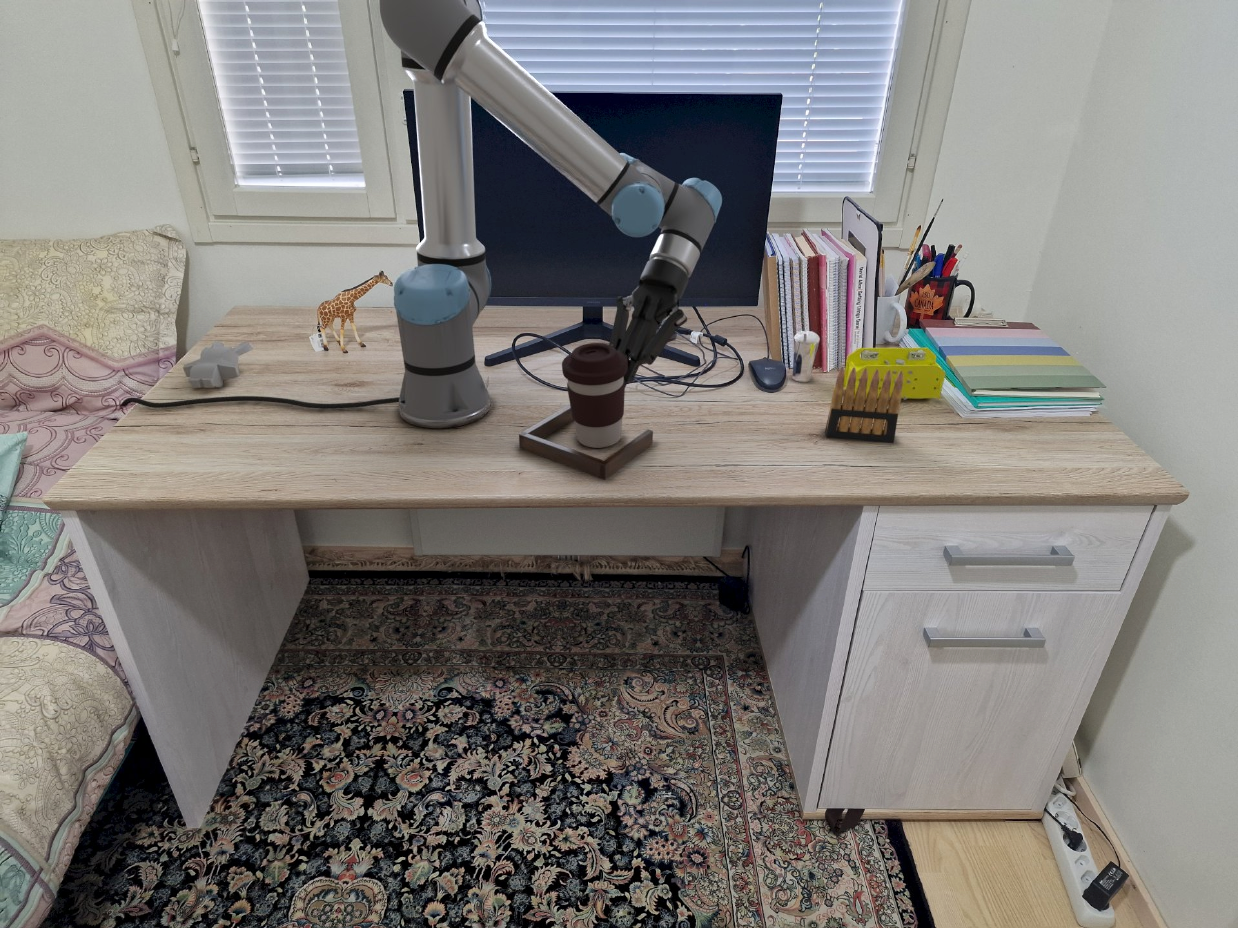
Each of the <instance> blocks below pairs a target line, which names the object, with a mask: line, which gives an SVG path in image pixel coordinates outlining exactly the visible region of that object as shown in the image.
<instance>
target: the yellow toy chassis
mask: <svg viewBox="0 0 1238 928" xmlns="http://www.w3.org/2000/svg"><path fill="white" fill-rule="evenodd" d="M937 357H938V356H937V354H935V353H934V352H933V351H932V350H931V349H930V348H929V347H858V348H857V349H855V350H854V351H852V352H851V353H849V354H848V355H847V356H846V361H845V367H844V372H845V378H844V387H843V388H844V391H845V390H846V387H847V383H848V378H849V375H850V373H851V371H852V369H853V368H855V370H856V383H855V395H856V392H857V389H858V385H859V381H860V378H861V375H862V373H863V371H864V369H865V368H866V369H867V373H868V380H867V388H866V398H867V394H868V391H869V388H870V385H871V380H872V377H873V375H874V373H875V371H876V370H877V369H878V370H879V385H878V397H879V394H880V391H881V388H882V385H883V381H884V378H885V375H886V373H887V372H888V371H889V370H890V371H891V385H890V397H891V394H892V392H893V388H894V385H895V381H896V378H897V376H898V374H899V373H900V371H902V372H903V386H902V392H901V399H903V400H904V401H906V400H908V399H913V400H923V399H940V398H941V395H942V389H943V386H944V381H945V377H946V371H945V370H944V369H943V368H942V367H941V365H940V364H938V362H936V361H937ZM878 397H877V399H878ZM890 397H889V401H890ZM854 400H855V396H854ZM865 401H866V399H865Z"/></svg>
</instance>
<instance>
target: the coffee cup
mask: <svg viewBox="0 0 1238 928" xmlns="http://www.w3.org/2000/svg"><path fill="white" fill-rule="evenodd" d="M561 370H562V375H563V377H564V378H565V379H566V380H567V383H566V387H567V394H568V401H569V405H570V407H571V413H572V418H573V420H572V421H573V423H574V431H575V435H576V436H575V437H576V439H577V441H578V442H579V443H580V444H581V445H583V446H585V447H589V448H594V449H600V448H607V447H610V446H613V445H615V444H617V443H618V442H619V441H620V439H621V438H622V434H623V417H624V414H625V395H626V394H625V392H626V391H625V390H626V387H625V380H624V375H625V374H626V373H627V370H628V361H627V358H626V356H625V355H623V354H622V353H620V352H618V351H616V349H615V348H614V347H612V346H610V345H609V344H608V343H602V342H590V343H589V342H588V343H585V344H581V345H579V346H577V347H575V348H574V349H573V350H572V351H571V353H570V354H568V355H566V357H564V358H563V360H562V362H561Z"/></svg>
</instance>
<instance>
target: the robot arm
mask: <svg viewBox="0 0 1238 928" xmlns="http://www.w3.org/2000/svg"><path fill="white" fill-rule="evenodd" d="M379 15H380V19H381V22H382V25H383V28H384V30H385V31H386V33H387V36H388V37H389V38H390V40H391V42H392V43H393V44H394V45H395V46H396V47H397V48H398V49H399V50H400V60H401V70H403V72H405V73H406V75H407V76H408V77H409V78H410V79H411V80H412V83H413V95H414V96H413V97H414V109H415V122H416V123H415V124H416V135H417V137H416V138H417V152H418V163H419V164H418V165H419V178H420V179H419V180H420V191H421V207H422V219H423V231H424V238H423V239H422V240H421V242H420V243H418V244H417V246H416V249H415V250H416V259H417V260H416V261H417V266H415V267H414V268H410V269H407V270H405V271H404V272H402V273H401V274H400V275H399V276H398V277H397V278H396V279H395V282H394V284H393V305H394V309H395V313H396V319H397V326H398V332H399V333H398V334H399V340H400V346H401V351H402V360H403V366H404V373H403V379H402V383H401V387H400V388H401V389H400V393H399V396H397V397H389V398H388V397H387V398H380V399H372V400H365V401H358V402H357V401H356V402H342V403H341V402H340V403H322V402H321V403H319V402H308V401H301V400H297V399H291V398H285V397H284V398H283V397H275V396H262V395H261V396H260V395H259V396H258V395H234V396H233V395H231V396H230V395H229V396H216V397H205V398H203V397H202V398H194V399H193V398H192V399H185V400H177V401H167V402H152V401H148V400H144V399H142V398H137V397H128V398H125V399H124V400H122V402H121V404H120V406H119V407H123V408H124V407H127V406H128V405H129V404H131V403H132V404H138V405H141V406H144V407H147V408H148V407H149V408H153V409H163V408H164V409H166V408H175V407H176V408H177V407H183V406H184V407H185V406H190V405H192V406H193V405H200V404H201V405H203V404H212V403H213V404H214V403H226V402H263V403H264V402H265V403H275V404H276V403H277V404H285V405H292V406H297V407H302V408H310V409H320V410H321V409H322V410H323V409H325V410H327V409H328V410H329V409H332V410H334V409H353V408H365V407H372V406H379V405H388V404H395V403H396V404H397V403H398V409H399V415H400V417H401V418H402V419H403V420H404V421H405V422H406V423H407V424H410V425H413V426H415V427H420V428H426V429H449V428H456V427H460V426H465V425H468V424H471V423H473V422H476V421H478V420H479V419H481V418H483V417H484V416H485V415H486V414H487V413H488V412H489V410H490V409H491V397H490V392H489V390H488V387H489V385H490V376H489V375H488V377H487V379H486V381H484V379H483V377H482V375H481V373H480V370H479V368H478V366H477V363H476V350H475V341H474V340H475V339H474V331H473V329H474V325H475V323H476V321H477V319H478V318H479V316H480V314H481V312H482V311H483V310H484V309H485V307H486V306H487V304H488V302H489V301H490V299H489V298H490V296H491V293H492V277H491V272H490V270H489V268H488V266H487V262H486V261H487V259H486V258H487V257H486V247H485V246H484V244H482V243H481V241H479V240H478V238H477V234H476V233H477V230H476V229H477V228H476V207H475V205H476V203H475V181H474V158H473V157H474V155H473V127H472V107H471V106H472V104H471V101H472V100H473V101H475V102H476V103H477V104H478V105H479V106H481V108H483V109H484V110H486V112H488V113H489V114H490V115H491V116H493V117H494V118H495V119H496V120H497V121H498V122H500V123H501V124H502V125H503V126H505V128H507V129H508V130H509V131H510V132H512V134H514V135H515V136H516V137H518V138H519V139H520V140H521V141H522V142H523V143H524V144H526V145H527V146H528V147H529V148H531V150H533V151H534V152H535V153H536V154H538V155H539V156H540V157H541V158H542V159H544V160H545V161H546V162H547V163H548V164H549V165H551V166H552V167H553V168H554V169H556V171H558V173H560V174H562V176H564V177H565V178H566V179H567V180H568V181H569V182H571V183H572V184H573V185H574V186H576V187H577V188H578V189H579V190H580V191H581V192H583V193H584V194H585V195H586V196H587V197H588V198H589V199H591V200H592V201H593V202H594V203H595V204H597V205H598V206H599V207H600V208H601V209H602V210H603V211H605V212H606V213H607V214H608V215H609V216H610V217H611V219H612V221H613V222H614V224H615V226H616V228H617V229H618V230H619V231H620V232H621V233H623V234H624V235H626V236H628V237H632V238H643V237H646V236H648V235H650V234H652V233H653V232H655V231H656V230H657V229H658V228H659V229H661V231H660V233H659V235H658V237H657V239H656V241H655V244H654V246H653V248H652V250H651V252H650V255H649V259H648V261H647V262H646V263H645V266H644V268H643V270H642V273H641V275H640V277H639V281H638V285H637V287H636V288H635V289H634V290H633V291H632V292H631V295H628V296H626V297H623V296H621V295H619V296H617V297H616V298H615V304H616V305H615V306H616V312H615V317H614V321H613V326H612V331H611V335H610V339H609V344H608V345H610V346H612V347H614V348H615V349H616V351H618V352H620V353H622V354H623V355H625V356H626V358H627V361H628V370H627V373H626V374H625V375H624V380H625V388H626V387H627V385H628V383H630V384H631V383H632V382H633V381H634V379H635V377H636V374H637V372H638V370H639V368H640V367H641V365H646V364H647V365H648V366H651V365H653V364H654V363H655V361H656V360H657V358H658V357H659V356H660V354H661V353H662V352H663V350H664V348H665V347H666V345H668V343H669V342H670V340H671V339H672V337H673V336H674V334H675V333H676V331H677V330H678V329H679V328H680V327H682V326H683V325H684V324H686V323H687V322H688V317H687V315H686V314H685V312H684V311H683V309H681V308H680V299H681V298H682V297H683V294H684V293H685V291H686V288H687V287H688V283H689V280H690V279H689V278H691V276H692V274H693V272H694V270H695V267H696V265H697V264H698V261H699V259H700V256H701V254H702V252H703V249H704V247H705V245H706V242H707V240H708V239H709V236H710V234H711V232H712V230H713V227H714V225H716V222H717V218H718V216H719V212H720V210H721V207H722V203H723V196H722V194H721V192H720V190H719V189H718V188H717V187H716V186H715V185H714V184H713V183H711V182H710V181H707V180H702V179H700V178H698V177H691V178H688V179H686V180H684V181H683V183H682V184H681V183H677V182H676V181H674V180H672V179H670V178H668V177H667V176H665V175H664V174H662V173H660V172H659V171H657V170H655V169H654V168H652V167H650V166H649V165H647V164H645V163H644V162H642V161H641V160H640V159H639V158H635V157H632V156H631V155H629V154H626V153H624V152H621V153H619V152H618V151H617V150H616V149H615V148H614V147H613V146H611V145H610V144H609V143H608V142H607V141H606V140H605V139H604V138H603V137H601V136H600V135H599V134H598V133H597V132H595V131H594V130H593V128H591V127H590V126H589V125H588V124H587V123H585V122H584V121H583V120H582V119H581V118H580V116H577V114H575V113H574V112H573V111H572V110H571V109H570V108H568V107H567V105H565V104H564V103H563V102H562V101H561V100H560V99H558V97H556V96H555V95H554V94H553V93H552V92H550V91H549V90H548V89H547V88H546V87H545V86H544V85H542V84H541V82H539V81H538V80H537V79H536V78H535V77H534V76H532V75H531V74H530V73H529V72H528V71H527V70H526V69H525V68H524V67H522V66H521V65H520V64H519V63H518V62H517V61H515V60H514V58H513V57H511V56H510V55H509V54H508V53H507V52H505V51H504V50H503V49H502V48H501V47H500V46H499V45H497V43H495V42H494V41H493V40H492V39H490V38H489V36H488V34H487V30H486V29H487V28H486V24H485V22H484V12H483V5H482V3H481V0H379ZM471 99H472V100H471ZM632 306H633V311H632ZM631 311H632V314H631V319H630V312H631ZM629 319H630V321H629ZM664 320H665V321H664ZM628 323H629V324H628Z"/></svg>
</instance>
